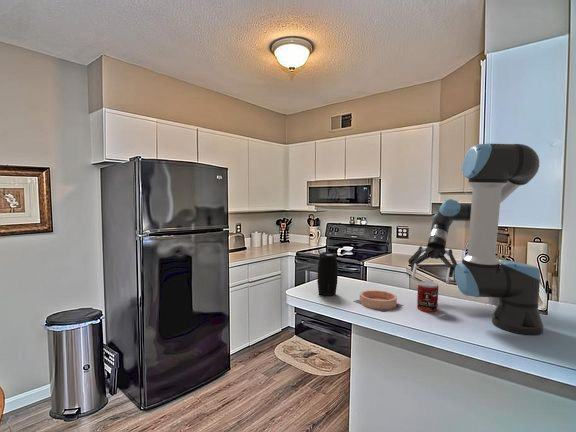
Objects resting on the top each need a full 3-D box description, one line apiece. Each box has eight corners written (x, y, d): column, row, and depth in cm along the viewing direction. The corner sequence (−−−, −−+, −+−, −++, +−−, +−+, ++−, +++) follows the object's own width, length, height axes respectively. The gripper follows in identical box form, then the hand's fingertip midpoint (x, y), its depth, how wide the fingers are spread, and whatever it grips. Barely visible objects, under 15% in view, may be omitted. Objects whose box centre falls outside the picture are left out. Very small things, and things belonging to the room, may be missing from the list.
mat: (404, 306, 138) (404, 305, 138) (383, 313, 129) (383, 312, 129) (373, 296, 150) (373, 295, 150) (352, 302, 142) (352, 301, 142)
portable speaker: (320, 291, 158) (321, 251, 157) (339, 293, 154) (340, 252, 153) (314, 296, 150) (315, 253, 149) (334, 298, 146) (335, 255, 145)
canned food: (415, 311, 132) (416, 284, 131) (418, 305, 139) (419, 280, 138) (436, 314, 128) (437, 287, 128) (437, 308, 135) (439, 282, 135)
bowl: (403, 304, 138) (404, 296, 138) (381, 311, 129) (381, 303, 129) (375, 295, 150) (375, 288, 150) (352, 301, 141) (353, 293, 141)
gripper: (468, 248, 146) (462, 289, 134) (410, 243, 160) (401, 280, 148) (467, 238, 141) (462, 279, 130) (408, 233, 155) (398, 270, 144)
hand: (429, 280), depth 139 cm, fingers open, 13 cm apart
